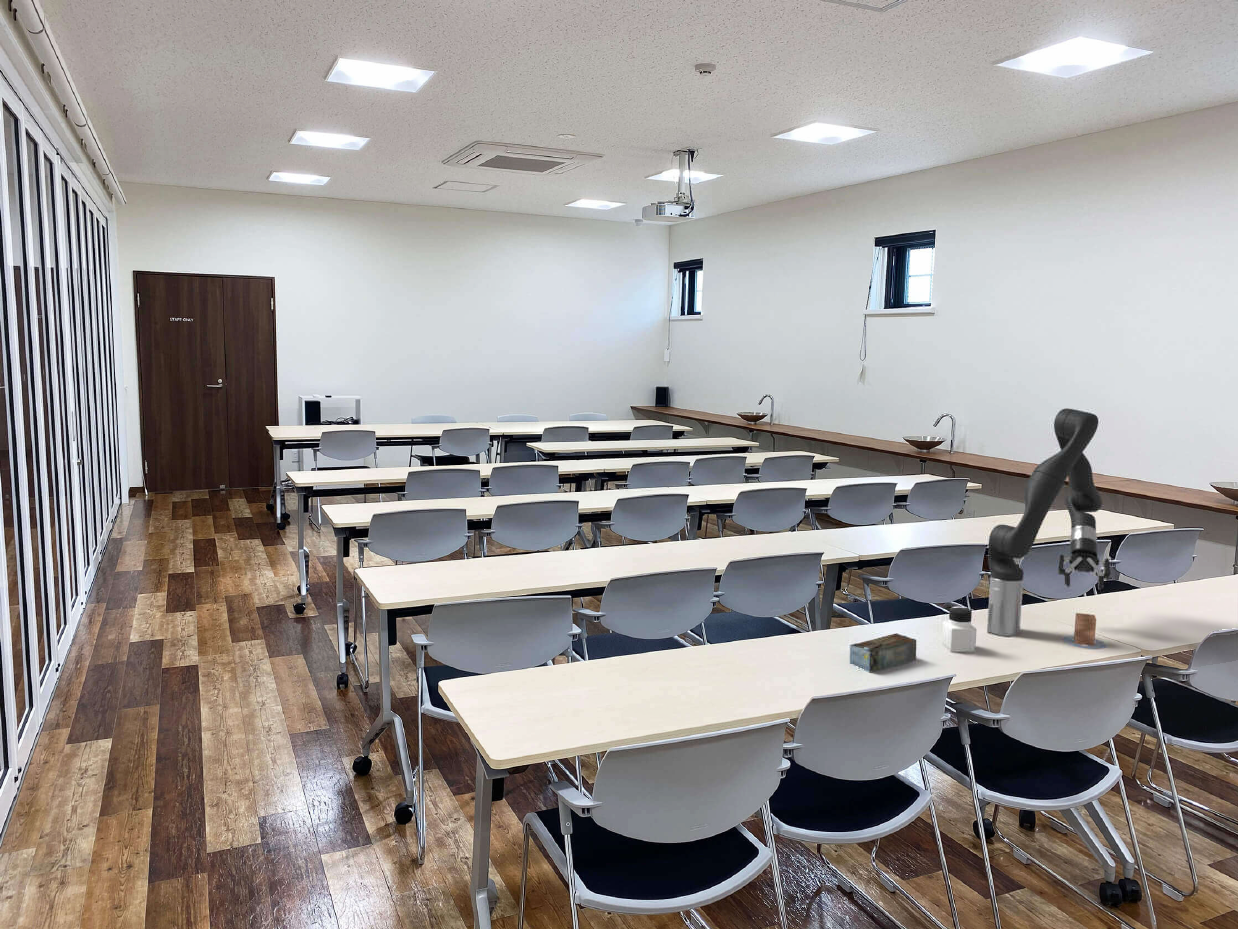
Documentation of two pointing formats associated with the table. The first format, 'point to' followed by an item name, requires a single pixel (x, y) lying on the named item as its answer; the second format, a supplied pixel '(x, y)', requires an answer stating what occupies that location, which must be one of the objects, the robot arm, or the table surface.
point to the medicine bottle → (959, 631)
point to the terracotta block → (1085, 629)
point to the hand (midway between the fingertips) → (1084, 587)
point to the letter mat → (1097, 645)
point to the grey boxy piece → (883, 652)
